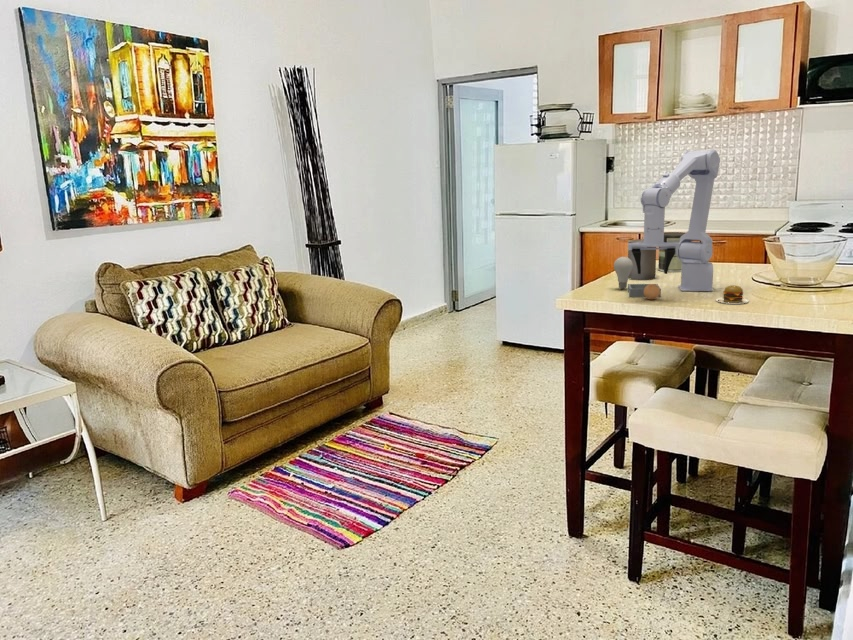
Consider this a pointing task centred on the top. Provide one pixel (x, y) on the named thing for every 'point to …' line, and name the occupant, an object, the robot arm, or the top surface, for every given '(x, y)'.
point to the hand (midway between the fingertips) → (652, 273)
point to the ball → (651, 291)
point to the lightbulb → (623, 270)
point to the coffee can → (675, 262)
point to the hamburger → (733, 295)
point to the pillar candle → (643, 263)
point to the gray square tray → (638, 290)
